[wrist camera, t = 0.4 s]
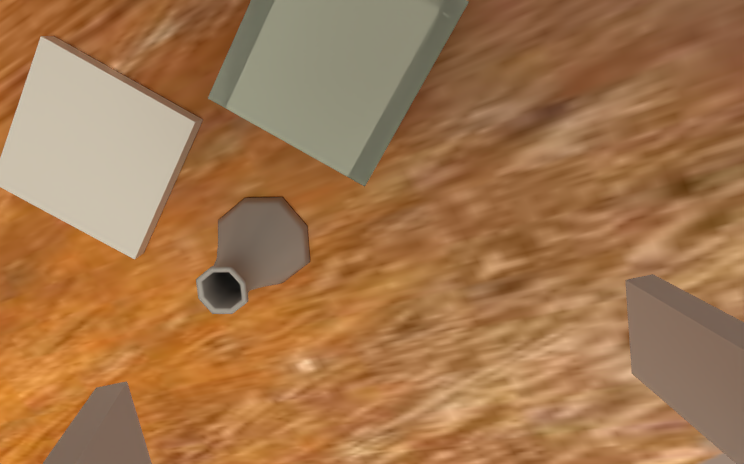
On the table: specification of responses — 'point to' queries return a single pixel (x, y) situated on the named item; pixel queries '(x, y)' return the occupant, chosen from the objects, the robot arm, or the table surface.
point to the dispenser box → (333, 72)
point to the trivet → (95, 147)
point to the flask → (253, 252)
